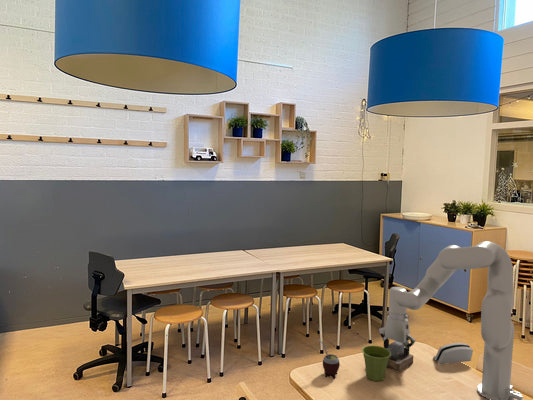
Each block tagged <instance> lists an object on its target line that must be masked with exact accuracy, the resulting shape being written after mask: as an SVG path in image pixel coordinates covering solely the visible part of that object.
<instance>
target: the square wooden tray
mask: <svg viewBox="0 0 533 400" xmlns="http://www.w3.org/2000/svg"><path fill="white" fill-rule="evenodd" d="M412 364H414V355H413V354H410V353H409V355H408V356H406V357H404V359H403V360H402V361H400V362H399V363H398V362H396V361H393V360H390V359H389V360H388V363H387V367H386V369H390V370H392V371H394V372H397V373H401V372H403V371H404V370H406V369H407V368H409V366H411V365H412Z"/></svg>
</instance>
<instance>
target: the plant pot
mask: <svg viewBox="0 0 533 400" xmlns="http://www.w3.org/2000/svg"><path fill="white" fill-rule="evenodd" d="M361 352H362V354H363V355H362V356H363V359H364V365H365V367H364V368H365V374H366V377H367V378H368V379H369V380H370V381H373V382H380V381H381V382H382V381H384V379H385V376H386V371H387V363H388V360H389V357H390V356H391V352H390V351H389V350H388V349H386V348H384V346H383V347H382V346H380V345H365V346H363V347H362V349H361Z"/></svg>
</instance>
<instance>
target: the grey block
mask: <svg viewBox="0 0 533 400" xmlns="http://www.w3.org/2000/svg"><path fill="white" fill-rule="evenodd" d="M404 348H405V346H404V345H403V343H401V342H398V341H395V340H394V341H393V342H391V343H389V348H388V350H389V351H390V352H391V356H390V357H389V359H390V360H393V361H396V362H398V363H399V362H400V361H402V360H403V359H404Z"/></svg>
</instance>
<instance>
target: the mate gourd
mask: <svg viewBox="0 0 533 400" xmlns="http://www.w3.org/2000/svg"><path fill="white" fill-rule="evenodd" d="M317 340H318V341H319V343H321V344H322V347H323V348H324V350H325V354H326V355H325V356H324V357H323V359H322V367H323V371H324V377H325V378H328V377H331V376H332V377H331V378H333V379H334V380H335V378H336V379H337V377H336V376H337V374H338V371H339V369H340V366H341V365H340V359H339V357H338V356H337V355H335V354H332V353H329V354H328V351H327V348H326V345H325V343H324V342H322V341H321V340H320V339H317ZM327 376H328V377H327Z"/></svg>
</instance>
